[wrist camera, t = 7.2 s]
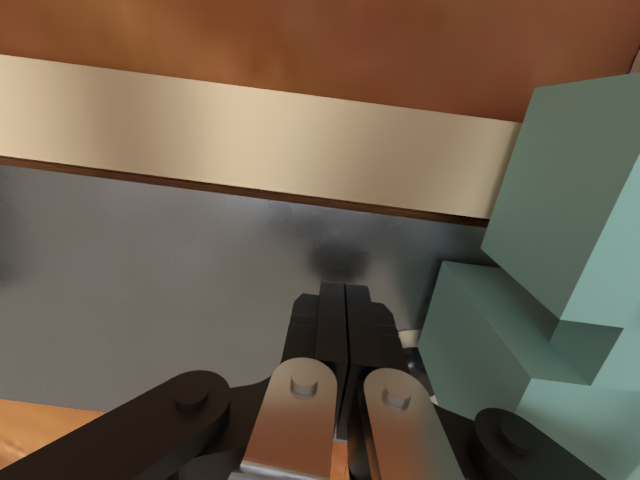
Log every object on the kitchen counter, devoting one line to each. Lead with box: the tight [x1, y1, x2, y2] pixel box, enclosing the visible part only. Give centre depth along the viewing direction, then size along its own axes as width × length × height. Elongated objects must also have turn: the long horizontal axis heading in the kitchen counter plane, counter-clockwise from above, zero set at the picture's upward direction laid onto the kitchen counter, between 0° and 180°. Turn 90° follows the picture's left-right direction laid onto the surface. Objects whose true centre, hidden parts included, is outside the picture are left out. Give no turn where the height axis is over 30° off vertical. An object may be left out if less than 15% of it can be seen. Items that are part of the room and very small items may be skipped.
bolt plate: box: [0, 157, 502, 443], centre depth 13 cm, size 26×11×1 cm, turn 83°
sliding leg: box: [417, 72, 640, 480], centre depth 8 cm, size 4×11×5 cm, turn 173°
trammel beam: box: [0, 55, 522, 219], centre depth 10 cm, size 26×11×5 cm, turn 83°
